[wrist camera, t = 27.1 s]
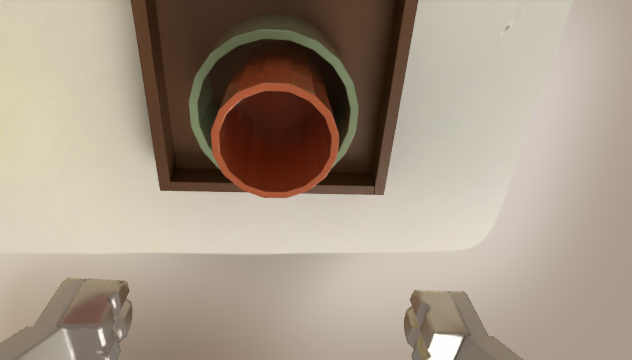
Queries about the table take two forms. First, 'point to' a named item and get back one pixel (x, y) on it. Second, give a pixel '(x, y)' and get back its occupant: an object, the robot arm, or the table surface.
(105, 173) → the table surface
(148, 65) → the tray
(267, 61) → the terracotta cup
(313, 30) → the sage cup
